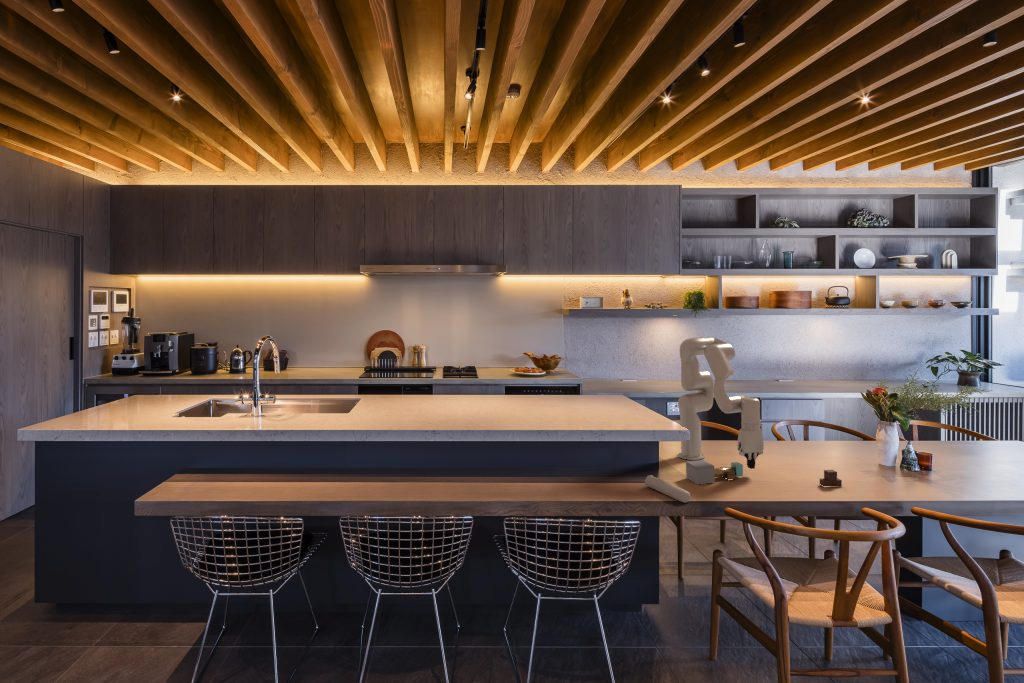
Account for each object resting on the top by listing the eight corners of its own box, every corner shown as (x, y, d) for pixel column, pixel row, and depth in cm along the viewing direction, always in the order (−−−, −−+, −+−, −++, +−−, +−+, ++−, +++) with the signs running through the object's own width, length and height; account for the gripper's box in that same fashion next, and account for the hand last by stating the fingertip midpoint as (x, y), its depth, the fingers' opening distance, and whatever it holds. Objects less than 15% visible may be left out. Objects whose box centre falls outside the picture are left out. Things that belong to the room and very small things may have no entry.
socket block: (686, 478, 265) (685, 461, 265) (703, 476, 266) (703, 459, 266) (696, 484, 255) (696, 467, 255) (714, 483, 257) (714, 465, 256)
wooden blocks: (824, 495, 237) (824, 478, 237) (805, 484, 252) (804, 467, 252) (862, 493, 238) (862, 476, 237) (840, 482, 253) (840, 466, 252)
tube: (695, 492, 234) (656, 476, 257) (684, 490, 232) (646, 473, 255) (691, 506, 233) (653, 488, 257) (680, 503, 231) (643, 486, 255)
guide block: (720, 476, 266) (719, 467, 266) (726, 475, 267) (726, 466, 266) (728, 480, 259) (728, 471, 259) (735, 480, 259) (734, 471, 259)
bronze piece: (697, 476, 263) (697, 465, 263) (737, 473, 266) (737, 462, 266) (702, 479, 259) (702, 468, 258) (742, 476, 262) (742, 464, 261)
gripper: (761, 423, 268) (762, 464, 270) (730, 425, 266) (730, 467, 267) (771, 426, 261) (771, 469, 262) (739, 429, 259) (739, 471, 260)
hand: (751, 467), depth 265 cm, fingers closed
